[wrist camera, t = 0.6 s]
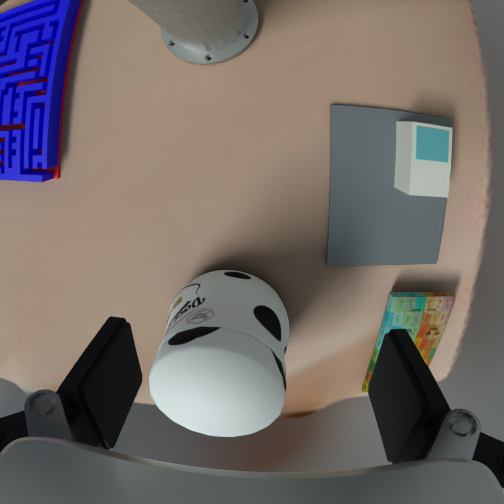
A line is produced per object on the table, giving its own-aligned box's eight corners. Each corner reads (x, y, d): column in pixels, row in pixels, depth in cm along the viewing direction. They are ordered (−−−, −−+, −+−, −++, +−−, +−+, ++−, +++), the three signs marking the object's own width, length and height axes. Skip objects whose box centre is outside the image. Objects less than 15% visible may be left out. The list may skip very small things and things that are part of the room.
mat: (330, 105, 36) (331, 104, 36) (448, 119, 35) (450, 119, 35) (326, 264, 44) (326, 266, 44) (434, 262, 43) (436, 263, 43)
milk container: (166, 264, 46) (118, 337, 29) (285, 257, 44) (295, 336, 28) (187, 355, 52) (162, 437, 35) (288, 352, 51) (294, 440, 34)
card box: (396, 121, 36) (412, 121, 31) (433, 126, 35) (452, 128, 31) (394, 187, 39) (409, 195, 34) (430, 189, 39) (448, 197, 34)
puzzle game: (457, 298, 41) (420, 390, 48) (445, 284, 45) (412, 374, 53) (394, 299, 41) (363, 396, 49) (384, 284, 46) (358, 378, 53)
